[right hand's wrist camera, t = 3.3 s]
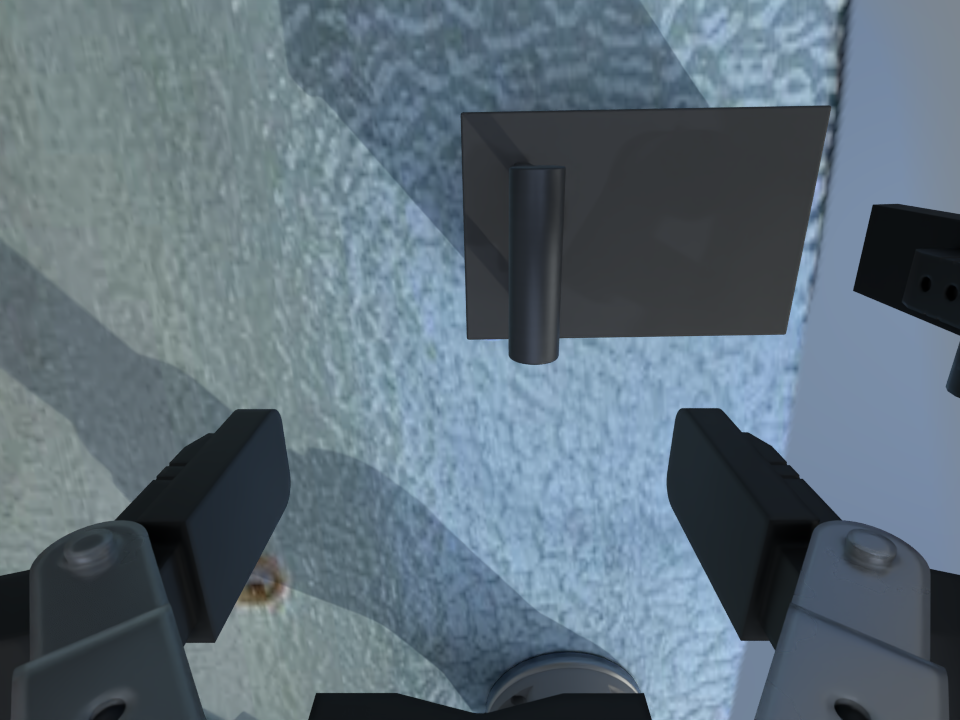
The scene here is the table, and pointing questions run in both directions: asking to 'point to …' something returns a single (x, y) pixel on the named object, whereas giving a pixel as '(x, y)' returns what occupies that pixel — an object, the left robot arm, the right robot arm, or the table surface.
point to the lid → (635, 222)
